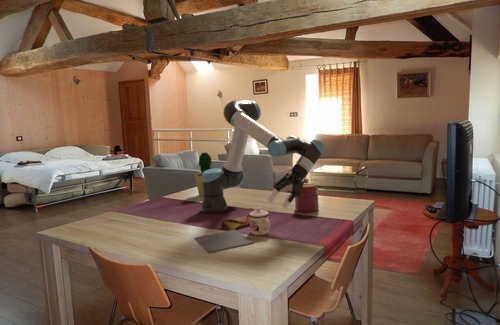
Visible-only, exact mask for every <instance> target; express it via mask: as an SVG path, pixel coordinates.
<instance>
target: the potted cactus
mask: <svg viewBox="0 0 500 325" xmlns="http://www.w3.org/2000/svg"><path fill="white" fill-rule="evenodd" d="M211 166H212V156H211V155H210V154H209V153H208V152H201V153H200V155H199V157H198V167H199V169H200V172H199V173H196V174H194V177H195V178H194V180H195V182H196V188H197V192H198V195H199V198H203V183H202V174H203V172H204V171H206V170H209V169H212V168H211Z"/></svg>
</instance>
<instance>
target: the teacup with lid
mask: <svg viewBox="0 0 500 325" xmlns="http://www.w3.org/2000/svg"><path fill="white" fill-rule="evenodd" d="M248 215H249V216H250V226H249V227H250V229H249V230H250V233H251V235H254V236H265V235H267V234H269V232H270V228H271V222H270V220H269V215H270V213H269V212H268V211H267V210H264V209H262V208H261V207H259V206H258V207H256V209H255V210H253V211H251V212H249V214H248Z"/></svg>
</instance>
